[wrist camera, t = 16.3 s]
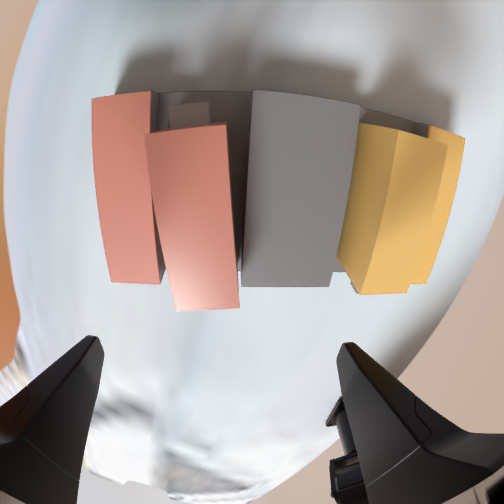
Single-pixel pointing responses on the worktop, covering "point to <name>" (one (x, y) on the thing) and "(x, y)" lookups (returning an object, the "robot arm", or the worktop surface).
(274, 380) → the worktop surface
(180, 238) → the brick plug
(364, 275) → the ochre plug
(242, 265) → the slot rack
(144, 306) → the worktop surface
